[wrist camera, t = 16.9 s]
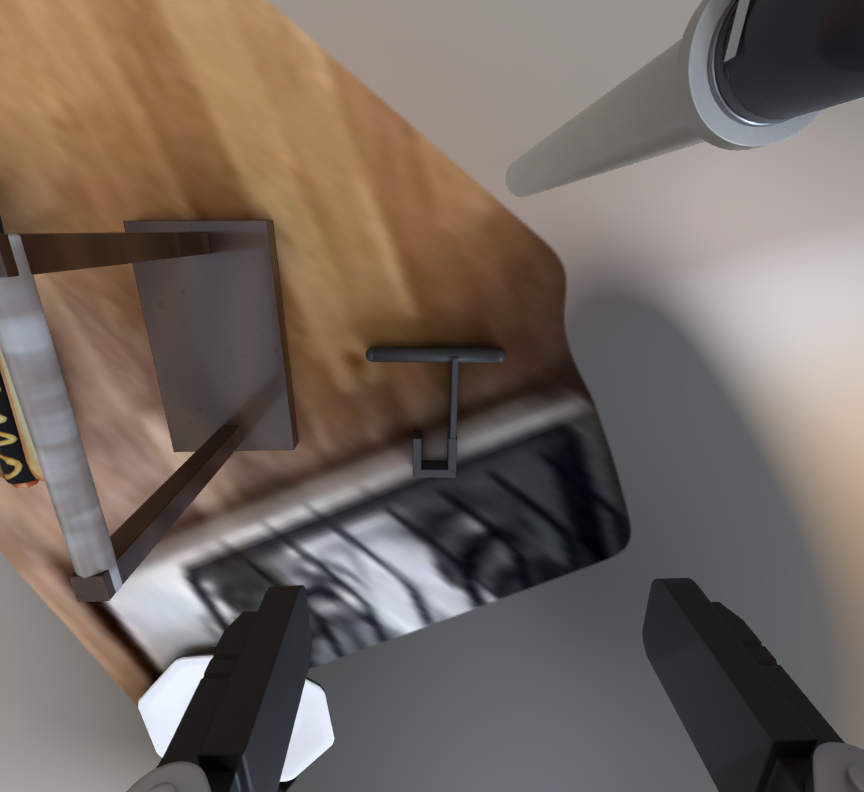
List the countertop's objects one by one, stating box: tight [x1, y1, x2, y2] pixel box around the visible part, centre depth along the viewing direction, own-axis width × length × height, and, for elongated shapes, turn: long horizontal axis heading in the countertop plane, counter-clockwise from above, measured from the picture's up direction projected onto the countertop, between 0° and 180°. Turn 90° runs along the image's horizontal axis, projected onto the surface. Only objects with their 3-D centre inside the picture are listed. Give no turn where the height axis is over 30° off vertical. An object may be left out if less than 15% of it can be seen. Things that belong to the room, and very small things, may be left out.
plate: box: [138, 653, 335, 782], centre depth 50 cm, size 20×20×2 cm
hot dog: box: [0, 347, 45, 488], centre depth 35 cm, size 5×13×5 cm, turn 177°
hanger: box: [366, 347, 506, 477], centre depth 38 cm, size 11×2×11 cm
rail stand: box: [0, 220, 298, 602], centre depth 28 cm, size 10×18×19 cm, turn 0°
